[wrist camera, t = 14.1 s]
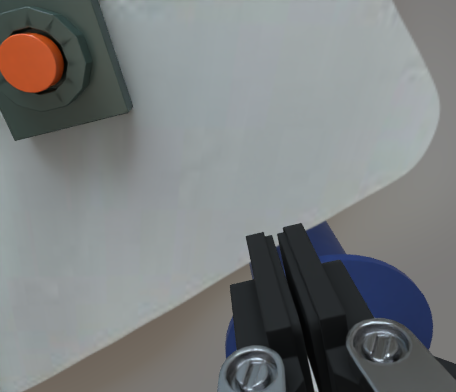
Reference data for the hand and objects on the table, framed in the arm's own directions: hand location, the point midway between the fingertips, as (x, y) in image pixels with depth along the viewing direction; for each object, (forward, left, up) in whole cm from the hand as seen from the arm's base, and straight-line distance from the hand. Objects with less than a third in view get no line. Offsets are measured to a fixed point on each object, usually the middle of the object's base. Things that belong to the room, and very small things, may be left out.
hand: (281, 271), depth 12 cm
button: (+7, +12, -20) cm, 24 cm away
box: (+7, +12, -23) cm, 27 cm away
